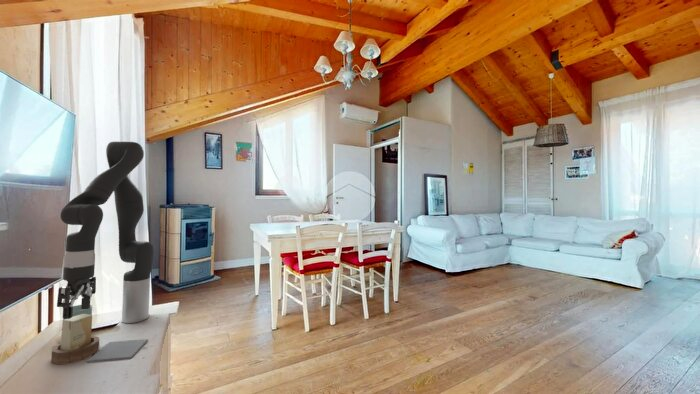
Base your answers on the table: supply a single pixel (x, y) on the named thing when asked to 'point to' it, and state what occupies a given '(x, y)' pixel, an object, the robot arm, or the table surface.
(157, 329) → the table surface
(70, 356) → the holder ring
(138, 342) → the mat
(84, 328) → the skincare box
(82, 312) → the cup
